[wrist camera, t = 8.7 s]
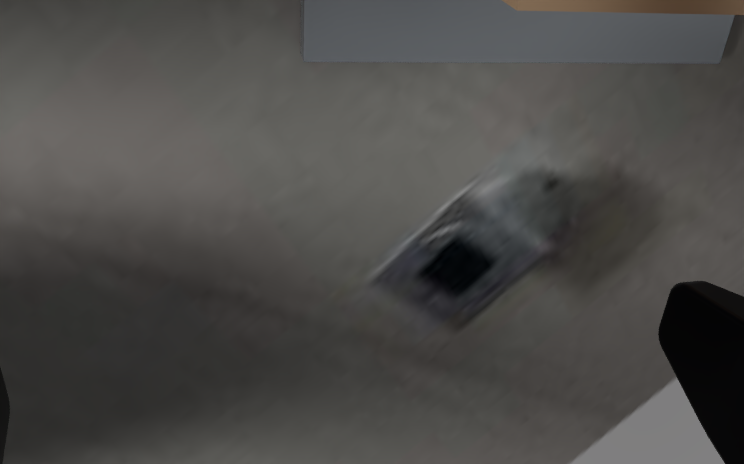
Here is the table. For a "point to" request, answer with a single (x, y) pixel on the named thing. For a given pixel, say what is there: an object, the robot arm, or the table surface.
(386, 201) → the table surface
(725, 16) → the slate coaster
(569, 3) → the walnut cube
